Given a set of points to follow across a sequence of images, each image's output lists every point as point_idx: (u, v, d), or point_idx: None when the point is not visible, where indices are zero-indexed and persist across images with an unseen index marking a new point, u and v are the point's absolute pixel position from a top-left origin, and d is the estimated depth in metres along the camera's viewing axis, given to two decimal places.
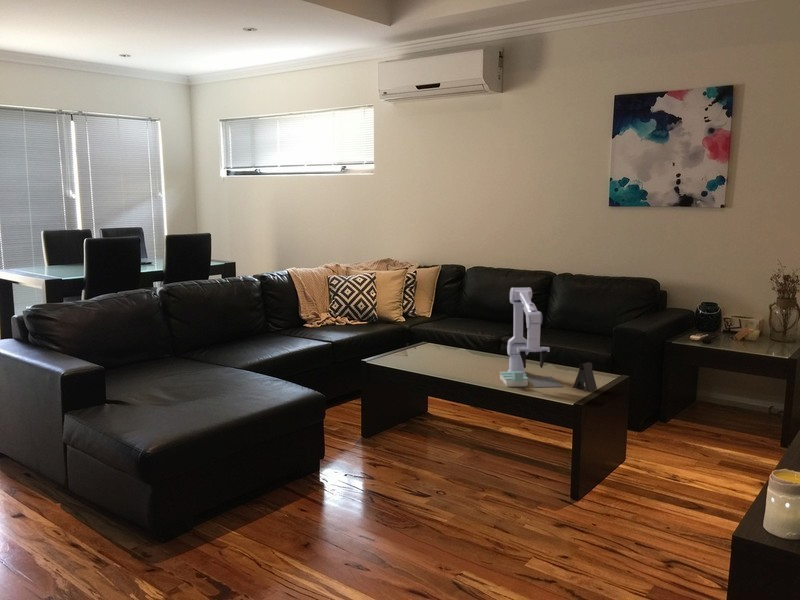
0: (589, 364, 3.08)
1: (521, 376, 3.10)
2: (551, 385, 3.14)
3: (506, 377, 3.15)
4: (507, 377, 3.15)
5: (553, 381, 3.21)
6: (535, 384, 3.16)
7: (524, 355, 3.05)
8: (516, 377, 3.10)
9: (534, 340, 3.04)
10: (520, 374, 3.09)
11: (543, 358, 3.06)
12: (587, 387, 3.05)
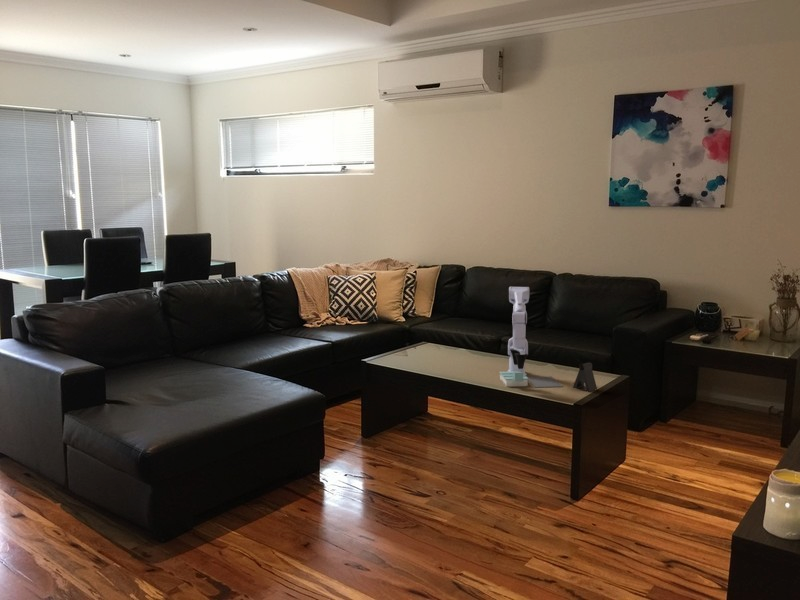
0: (589, 364, 3.08)
1: (521, 376, 3.10)
2: (551, 385, 3.14)
3: (506, 377, 3.15)
4: (507, 377, 3.15)
5: (553, 381, 3.21)
6: (535, 384, 3.16)
7: (510, 351, 3.14)
8: (516, 377, 3.10)
9: (512, 338, 3.09)
10: (520, 374, 3.09)
11: (516, 359, 3.06)
12: (587, 387, 3.05)
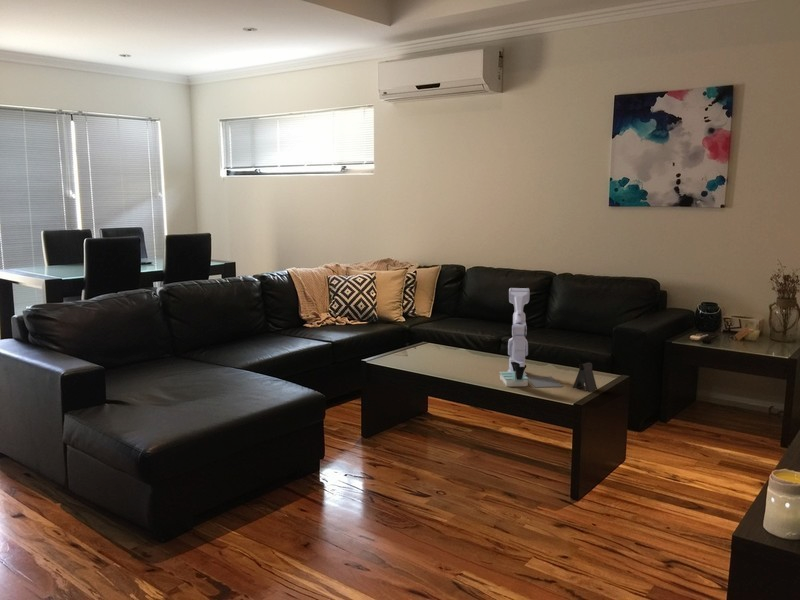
0: (589, 364, 3.08)
1: None
2: (551, 385, 3.14)
3: (506, 377, 3.15)
4: (507, 377, 3.15)
5: (553, 381, 3.21)
6: (535, 384, 3.16)
7: (511, 364, 3.13)
8: None
9: (512, 350, 3.10)
10: None
11: (515, 370, 3.08)
12: (587, 387, 3.05)
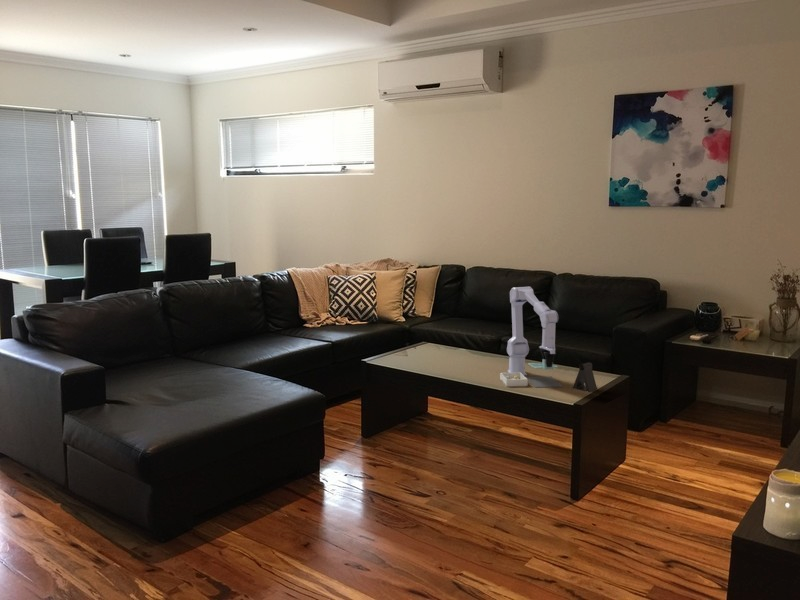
0: (589, 364, 3.08)
1: None
2: (551, 385, 3.14)
3: (535, 366, 3.16)
4: (536, 366, 3.16)
5: (553, 381, 3.21)
6: (535, 384, 3.16)
7: (541, 351, 3.13)
8: (546, 365, 3.10)
9: (542, 338, 3.10)
10: None
11: (545, 357, 3.08)
12: (587, 387, 3.05)
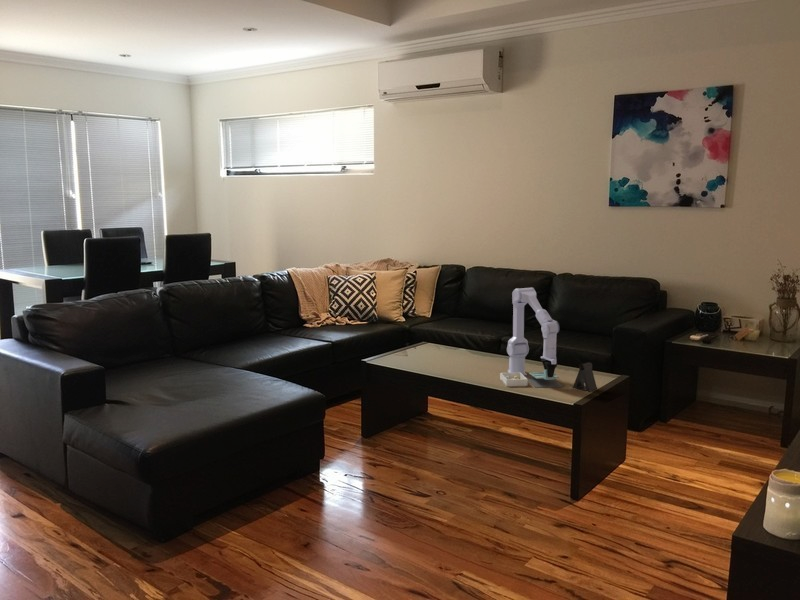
0: (589, 364, 3.08)
1: None
2: (551, 385, 3.14)
3: (536, 376, 3.16)
4: (537, 376, 3.16)
5: (553, 381, 3.21)
6: (535, 384, 3.16)
7: (542, 361, 3.14)
8: (547, 375, 3.10)
9: (543, 348, 3.11)
10: None
11: (546, 367, 3.09)
12: (587, 387, 3.05)
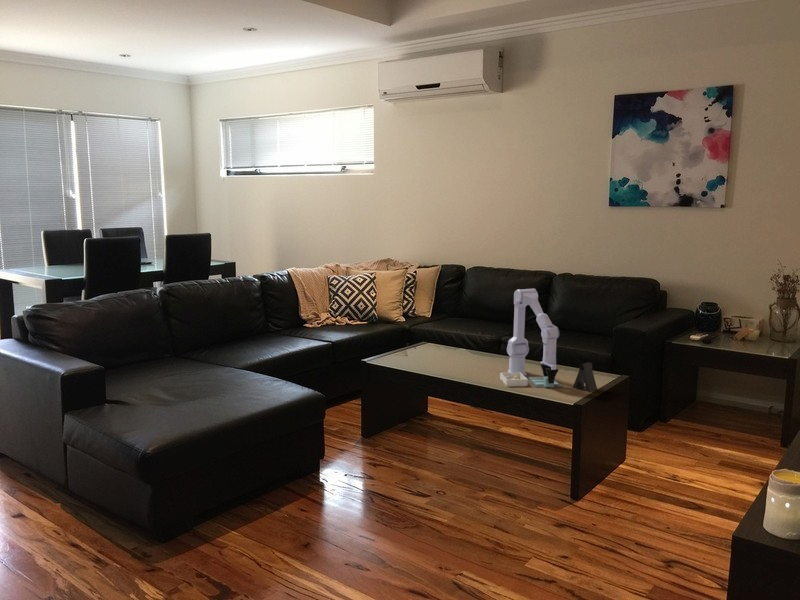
0: (589, 364, 3.08)
1: None
2: None
3: (536, 382, 3.17)
4: (537, 382, 3.17)
5: None
6: None
7: (541, 366, 3.16)
8: (547, 382, 3.11)
9: (543, 353, 3.11)
10: None
11: (547, 373, 3.08)
12: (587, 387, 3.05)
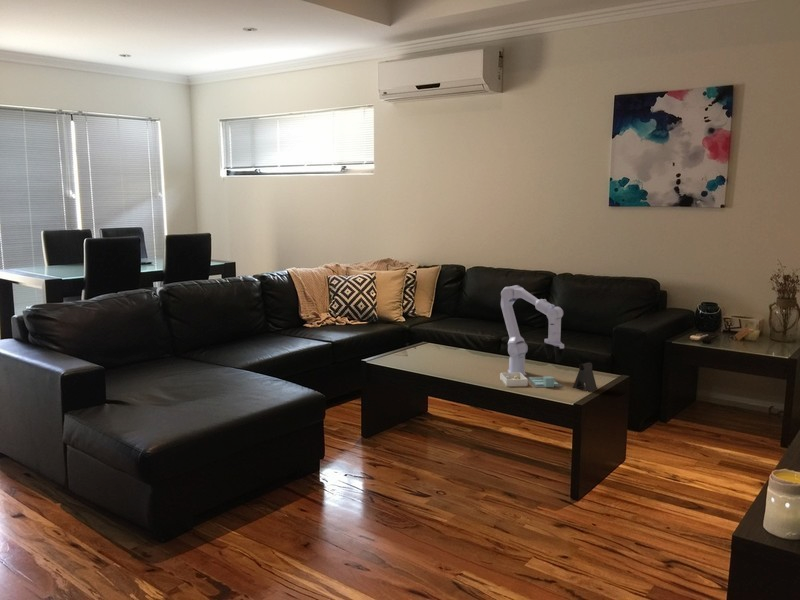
0: (589, 364, 3.08)
1: (552, 381, 3.11)
2: None
3: (536, 382, 3.17)
4: (537, 382, 3.17)
5: None
6: None
7: (544, 346, 3.25)
8: (547, 382, 3.11)
9: (549, 333, 3.20)
10: (551, 379, 3.11)
11: (555, 353, 3.18)
12: (587, 387, 3.05)
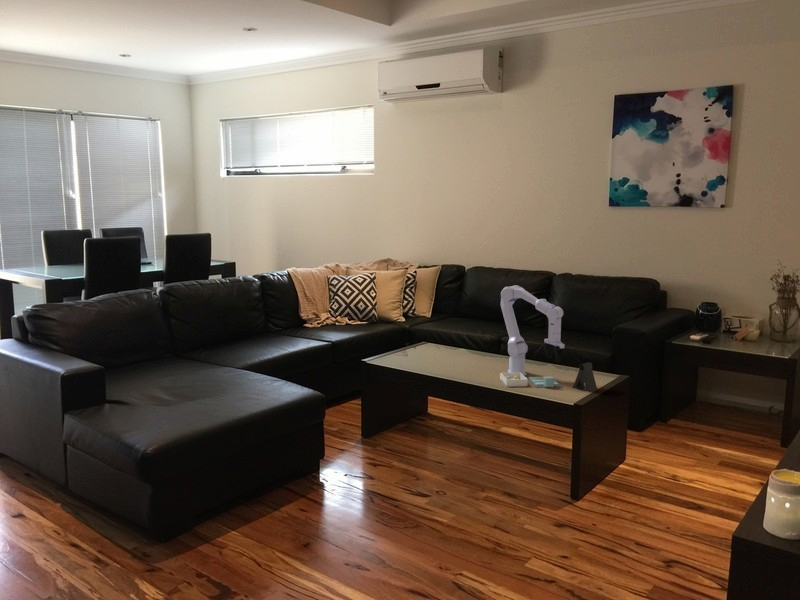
0: (589, 364, 3.08)
1: (552, 381, 3.11)
2: None
3: (536, 382, 3.17)
4: (537, 382, 3.17)
5: None
6: None
7: (544, 346, 3.25)
8: (547, 382, 3.11)
9: (549, 333, 3.20)
10: (551, 379, 3.11)
11: (555, 353, 3.18)
12: (587, 387, 3.05)
